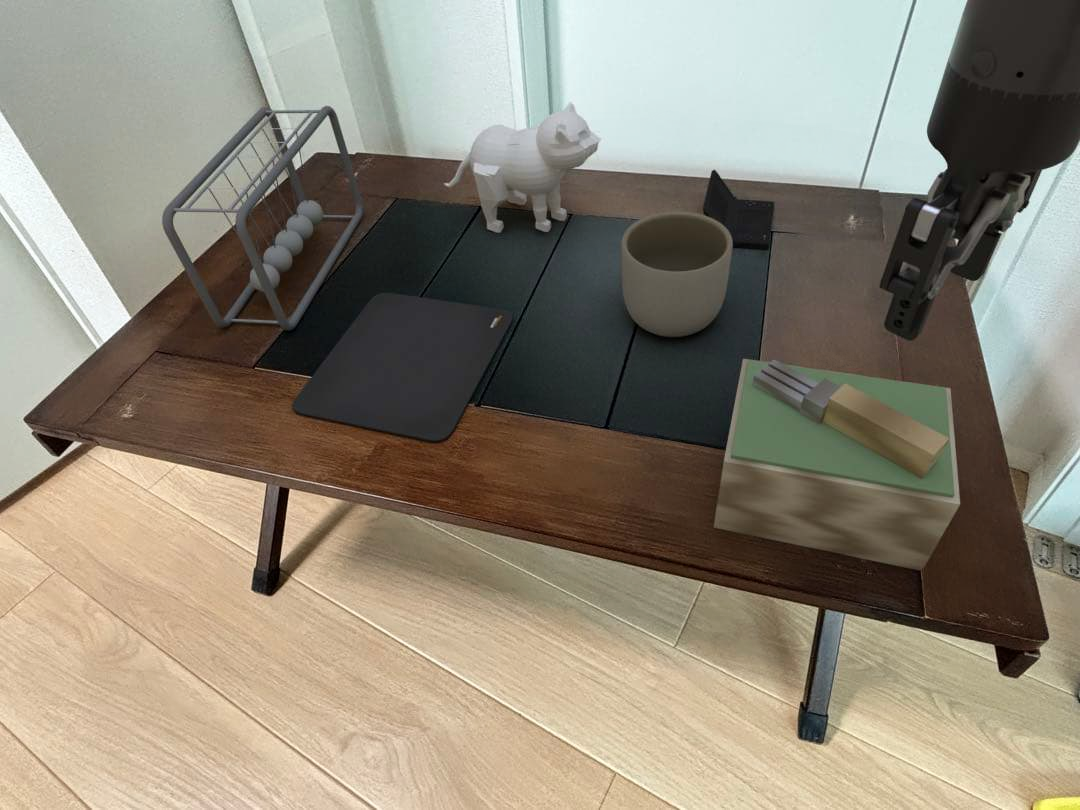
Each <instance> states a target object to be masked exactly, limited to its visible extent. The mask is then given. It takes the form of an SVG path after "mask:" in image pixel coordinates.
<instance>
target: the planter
mask: <svg viewBox="0 0 1080 810" xmlns="http://www.w3.org/2000/svg"><path fill="white" fill-rule="evenodd" d="M620 243H621V245H620V247H621V248H620V249H621V251H620V252H621V253H620V254H621V255H620V256H621V286H622V296H623V302H624V305H625V308H626V310H627V312H628V314H629V316H630V317H631V319H632V320H633V321H634V322H635V323H636V324H637V325H638V326H639V327H640V328H642V329H643V330H645V331H646V332H649V333H651V334H654V335H656V336H661V337H666V338H667V337H668V338H679V337H680V338H681V337H686V336H690V335H694V334H695V333H698V332H700V331H702V330H703V329H705V328H706V327H707V326H709V325H710V324H712V322H713V321H714V320H715V319H716V318H717V316H718V314H719V312H720V311H721V309H722V307H723V304H724V301H725V297H726V294H727V287H728V284H729V283H728V282H729V276H730V267H731V262H732V261H731V260H732V253H733V248H734V247H733V240H732V236H731V234H730V232H729V231H728V230H727V228H726V227H725V226H723V225H722V224H721V223H719V222H718V221H716V220H714V219H712V218H710V217H707V216H706V215H705V214H702V213H696V212H691V211H683V210H682V211H681V210H680V211H679V210H678V211H675V210H674V211H662V212H658V213H654V214H650V215H647V216H644V217H642V218H640V219H638V220H637V221H635V222H633V223H632V224H631V225H629V227H628V228H627V229H626V230H625V231H624V232H623V235H622V237H621V241H620Z"/></svg>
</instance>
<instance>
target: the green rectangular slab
mask: <svg viewBox="0 0 1080 810" xmlns="http://www.w3.org/2000/svg"><path fill="white" fill-rule="evenodd" d="M755 360H756V359H750V360H748V364H747V370H746V375H745V381H744V386H743V392H742V397H741V403H740V408H739V414H738V420H737V425H736V431H735V436H734V442H733V447H732V453H731V458H736V459H742V460H747V461H753V462H758V463H764V464H769V465H775V466H780V467H786V468H791V469H797V470H803V471H808V472H814V473H819V474H825V475H830V476H836V477H841V478H847V479H852V480H858V481H863V482H869V483H874V484H880V485H885V486H891V487H896V488H902V489H907V490H913V491H918V492H924V493H929V494H935V495H940V496H946V497H951V498H953V497H954V495H955V494H954V482H953V469H952V457H951V444H950V431H949V419H948V406H947V394H946V388H947V387H945V388H942V387H943V386H938V387H935V386H936V385H931V386H928V385H929V384H924V385H921V384H922V383H917V384H914V383H915V382H910V383H908V381H903V382H901V381H902V380H896V381H894V379H889V380H887V379H888V378H882V379H880V378H881V377H875V378H873V377H874V376H868V377H866V376H867V375H861V376H859V375H860V374H854V375H852V374H853V373H847V374H845V373H846V372H840V373H838V372H839V371H833V372H831V371H832V370H826V371H824V370H825V369H819V370H817V369H818V368H813V369H810V368H811V367H806V368H803V367H804V366H799V367H796V366H797V365H792V366H789V365H790V364H785V365H786V366H788V367H790V368H791V369H793V370H795V371H797V372H799V373H801V374H803V375H804V376H806V377H808V378H810V379H812V380H814V381H815V382H817V383H819V382H821V381H822V380H823V379H824V378H826V379H827V380H829V381H831V382H833V383H835V384H837V385H839V386H840V387H842V386H843V385H844V384H845V383H846V384H848V385H849V386H851V387H853V388H855V389H857V390H859V391H861V392H863V393H865V394H866V395H868V396H870V397H872V398H874V399H876V400H878V401H880V402H882V403H883V404H885V405H887V406H889V407H891V408H893V409H895V410H897V411H899V412H900V413H902V414H904V415H906V416H908V417H910V418H912V419H914V420H916V421H917V422H919V423H921V424H923V425H925V426H927V427H929V428H931V429H933V430H934V431H936V432H938V433H940V434H942V435H944V436H946V437H948V438H949V441H948V443H947V445H946V447H945V449H944V451H943V453H942V455H941V457H940V459H939V461H938V463H937V464H936V465H935V466H934V467H933V468H932V469H931V470H930V472H929V473H928V474H927V475H926V476H925V477H924V478H923V479H922V478H920V477H918V476H916V475H915V474H913V473H911V472H909V471H908V470H906V469H904V468H902V467H901V466H899V465H897V464H895V463H894V462H892V461H890V460H888V459H887V458H885V457H883V456H881V455H880V454H878V453H876V452H874V451H873V450H871V449H869V448H867V447H866V446H864V445H862V444H860V443H859V442H857V441H855V440H854V439H852V438H850V437H848V436H847V435H845V434H843V433H841V432H840V431H838V430H836V429H834V428H833V427H831V426H829V425H827V424H826V423H824V422H823V421H822V422H821V423H820V424H819V423H817V422H815V421H813V420H812V419H810V418H808V417H806V416H805V415H803V414H801V413H800V412H799V411H798V410H796V409H794V408H792V407H791V406H789V405H787V404H785V403H784V402H782V401H780V400H778V399H777V398H775V397H773V396H772V395H770V394H768V393H766V392H765V391H763V390H761V389H759V388H758V387H756V386H754V385H753V379H754V375H755V374H756V373H757V372H759V371H760V372H761V369H762V368H763V367H765V366H766V365H769V362H770V361H764V362H762V360H757V361H755Z"/></svg>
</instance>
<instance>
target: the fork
mask: <svg viewBox="0 0 1080 810" xmlns="http://www.w3.org/2000/svg"><path fill="white" fill-rule="evenodd" d="M769 362H770V363H769V365H766V366H765V367H763V368H762V369H761V372H760V371H759V372H757V373H756V374H755V375H754V379H753V385H754V386H756V387H758V388H759V389H761V390H763V391H765V392H766V393H768V394H770V395H772V396H773V397H775V398H777V399H778V400H780V401H782V402H784V403H785V404H787V405H789V406H791V407H792V408H794V409H796V410H798V411H799V412H800V413H801V414H803V415H805V416H806V417H808V418H810V419H812V420H813V421H815V422H817V423H819V424H820V423H821V422H822V421H823V422H824V423H826V424H827V425H829V426H831V427H833V428H834V429H836V430H838V431H840V432H841V433H843V434H845V435H847V436H848V437H850V438H852V439H854V440H855V441H857V442H859V443H860V444H862V445H864V446H866V447H867V448H869V449H871V450H873V451H874V452H876V453H878V454H880V455H881V456H883V457H885V458H887V459H888V460H890V461H892V462H894V463H895V464H897V465H899V466H901V467H902V468H904V469H906V470H908V471H909V472H911V473H913V474H915V475H916V476H918V477H920V478H922V479H923V478H924V477H925V476H926V475H927V474H928V473H929V472H930V470H931V469H932V468H933V467H934V466H935V465H936V464H937V463H938V461H939V459H940V457H941V455H942V453H943V451H944V449H945V447H946V445H947V443H948V441H949V438H948V437H946V436H944V435H942V434H940V433H938V432H936V431H934V430H933V429H931V428H929V427H927V426H925V425H923V424H921V423H919V422H917V421H916V420H914V419H912V418H910V417H908V416H906V415H904V414H902V413H900V412H899V411H897V410H895V409H893V408H891V407H889V406H887V405H885V404H883V403H882V402H880V401H878V400H876V399H874V398H872V397H870V396H868V395H866V394H865V393H863V392H861V391H859V390H857V389H855V388H853V387H851V386H849V385H848V384H846V383H845V384H844V385H843V386H842V387H840V386H839V385H837V384H835V383H833V382H831V381H829V380H827V379H826V378H824V379H823V380H822V381H821V382H819V383H817V382H815V381H814V380H812V379H810V378H808V377H806V376H804V375H803V374H801V373H799V372H797V371H795V370H793V369H791V368H790V367H788V366H786V365H787V364H785V365H784V363H782V362H781V361H779V360H777V359H775V358H773V359H772V360H771V361H769Z"/></svg>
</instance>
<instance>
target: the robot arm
mask: <svg viewBox="0 0 1080 810" xmlns="http://www.w3.org/2000/svg"><path fill="white" fill-rule="evenodd" d="M956 30H957V31H956V32H955V33H956V34H955V36H954V40H953V43H952V46H951V49H950V52H949V55H948V58H947V62H946V64H945V68H944V71H943V74H942V77H941V81H940V85H939V87H938V91H937V93H936V97H935V101H934V104H933V107H932V110H931V113H930V116H929V119H928V123H927V126H926V135H927V139H928V141H929V143H930V144H931V146H932V147H933V148H934V149H935V150H936V151H938V153H939V154H940V155H941V156H942V157H943V160H944V161H945V163H946V167H947V168H946V169H945V170H944V171H941V172H939V174H938V175H936V178H935V179H934V181H933V183H932V184H931V186H930V188H929V190H928V191H927V196H926V197H927V200H924V199H923V198H922V199H921V198H918V197H915V196H914V197H913V198H912V199H911V200H910V201H909V202H908V203H907V205H906V206H905V208H904V209H905V210H904V213H903V215H902V219H901V222H900V224H899V228H898V231H897V233H896V237H895V238H894V242H893V245H892V248H891V251H890V254H889V257H888V259H887V262H886V264H885V265H886V266H885V268H884V271H883V273H882V277H881V278H880V282H879V289H880V290H883V291H886V292H888V293H890V294H893V295H892V298H891V301H890V305H889V307H888V310H887V313H886V317H885V320H884V322H883V327H884V328H885V330H886V331H887V332H889V333H892V334H893V335H896V336H897V337H900V338H903V340H906V341H914V340H916V339H917V338H918V337H919V336H920V335H921V334H922V332H923V330H924V327H925V325H926V322H927V320H928V317H929V315H930V313H931V309H932V306H933V304H934V301H935V300H936V296H937V295H938V294H939V293H940V291H941V287H942V286H943V283H944V282H945V280H946V279H947V278H948V276H949V274H950V273H951V274H953V275H956V276H958V277H961V278H962V279H965V280H968V281H971V282H976V281H978V280H980V278H982V277H983V276H984V275H985V273H986V271H987V269H988V265H989V264H990V263H991V259H992V257H993V255H994V253H995V250H996V248H997V246H998V244H999V242H1000V239H1001V237H1002V233H1005V232H1006V231H1008V229H1010V228H1011V227H1012V226H1013V223H1014V218H1015V216H1016V215H1017V213H1019V214H1021V213H1022V212H1023V211H1024V210H1025V209H1027V207H1028V206H1029V205H1030V199H1031V197H1032V195H1033V193H1034V191H1035V188H1036V186H1037V183H1038V181H1039V179H1040V176H1041V174H1042V172H1043V170H1047V169H1050V168H1053V167H1056V166H1057V165H1060V164H1062V163H1063V162H1064V161H1066V160H1067V159H1069V158H1070V157H1071V156H1072V155H1073V153H1074V152H1075V151H1076V149H1077V147H1078V145H1079V143H1080V0H966V3H965V6H964V8H963V11H962V15H961V17H960V21H959V24H958V27H957V29H956ZM951 238H952V239H955V240H958V241H957V243H956V246H949V245H948V244H949V243H950V240H951ZM915 268H917V269H918V270H919V271H917V270H916V269H915Z"/></svg>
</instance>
